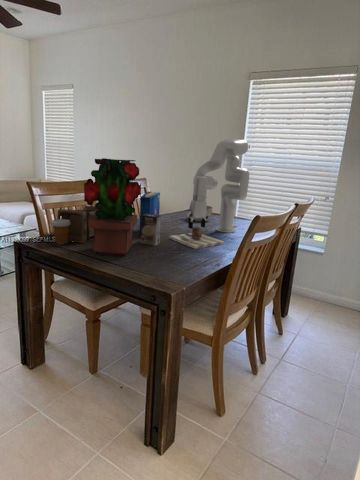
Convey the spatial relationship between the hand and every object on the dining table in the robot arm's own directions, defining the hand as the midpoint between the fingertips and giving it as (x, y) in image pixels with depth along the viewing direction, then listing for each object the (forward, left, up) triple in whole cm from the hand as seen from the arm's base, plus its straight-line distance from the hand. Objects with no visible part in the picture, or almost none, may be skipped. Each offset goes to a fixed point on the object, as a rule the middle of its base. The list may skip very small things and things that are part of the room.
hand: (196, 227), depth 192 cm
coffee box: (+26, -8, -9) cm, 29 cm away
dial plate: (-1, 0, -8) cm, 8 cm away
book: (+14, -28, -9) cm, 33 cm away
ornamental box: (+49, -39, -9) cm, 64 cm away
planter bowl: (-45, -45, -9) cm, 64 cm away
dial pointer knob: (-1, -3, -6) cm, 7 cm away
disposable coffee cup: (+68, -29, -9) cm, 75 cm away
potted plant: (+51, -3, -9) cm, 52 cm away
